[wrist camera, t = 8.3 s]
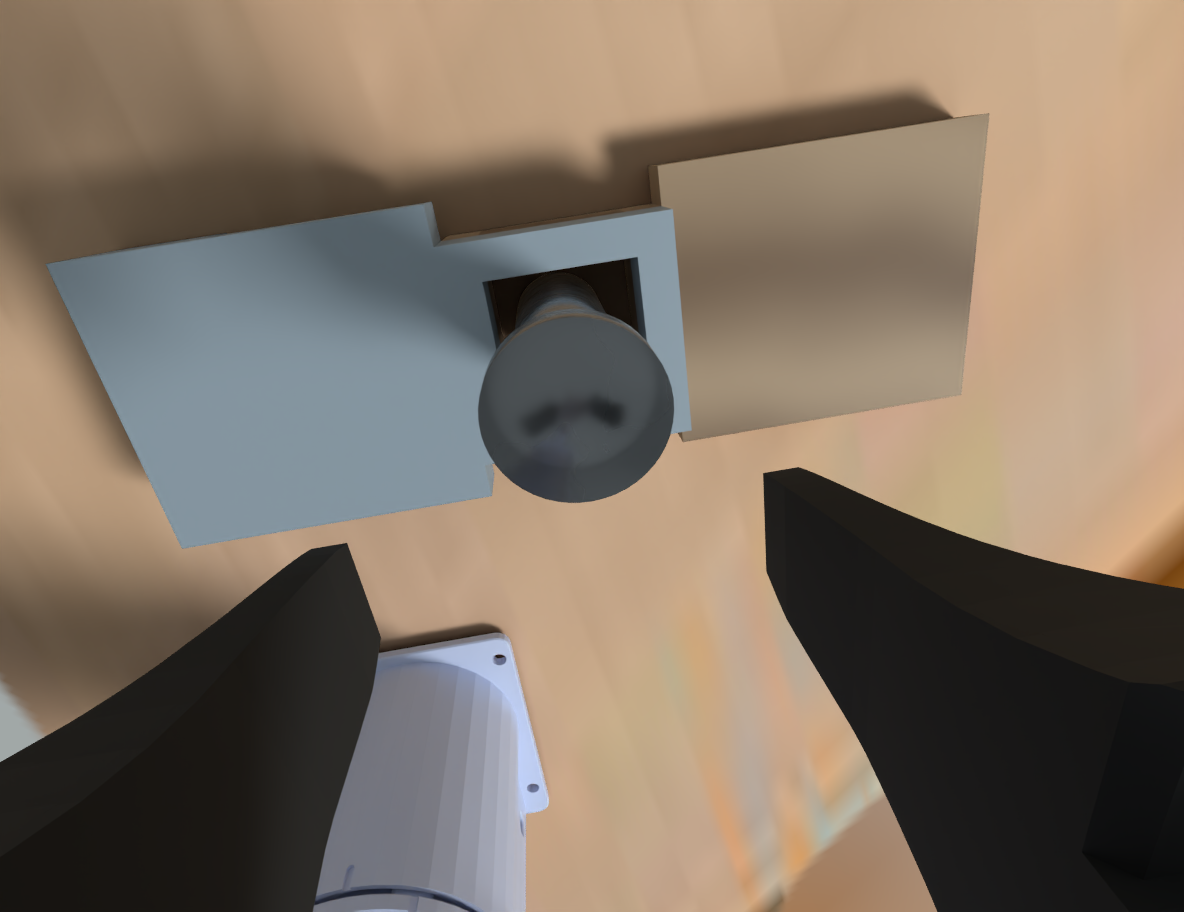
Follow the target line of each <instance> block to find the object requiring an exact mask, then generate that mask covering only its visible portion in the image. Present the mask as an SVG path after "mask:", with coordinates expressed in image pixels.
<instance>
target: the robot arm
mask: <svg viewBox="0 0 1184 912" xmlns="http://www.w3.org/2000/svg"><path fill="white" fill-rule="evenodd" d="M763 479H764V510H765V540H766V571H767V574H768V576H769V579H770V581H771V584H772V586H773V588H774V591H775V593H776V596H777V598H778V600H779V603H780V605H781V607H782V609H783V612H784V614H785V616H786V619H787V620H788V622H789V624H790V626H791V627H792V629H793V631H794V632H795V634H796V636H797V637H798V639H799V641H800V643H801V644H802V646H803V648H804V649H805V651H806V653H807V654H808V656H809V658H810V659H811V661H812V663H813V664H814V666H815V668H816V669H817V671H818V672H819V674H820V676H821V677H822V679H823V681H824V682H825V684H826V686H827V687H828V689H829V691H830V692H831V694H832V696H833V697H834V699H835V701H836V702H837V704H838V706H839V707H840V709H841V710H842V712H843V714H844V715H845V717H846V719H847V720H848V722H849V724H850V725H851V727H852V729H853V731H854V733H855V734H856V736H857V738H858V740H859V742H860V743H861V745H862V747H863V749H864V751H865V753H866V755H867V757H868V759H869V761H870V763H871V765H872V767H873V769H874V772H875V774H876V776H877V778H878V780H879V782H880V784H881V786H882V789H883V791H884V793H885V795H886V797H887V799H888V801H889V803H890V805H891V808H892V810H893V812H894V814H895V816H896V818H897V821H898V823H899V825H900V827H901V829H902V832H903V834H904V836H905V838H906V841H907V843H908V845H909V847H910V850H911V852H912V854H913V856H914V858H915V861H916V863H917V865H918V867H919V870H920V872H921V874H922V876H923V879H924V881H925V883H926V886H927V888H928V890H929V893H930V895H931V897H932V900H933V902H934V905H935V907H936V909H937V912H1184V589H1182V588H1175V587H1169V586H1163V585H1157V584H1152V583H1147V582H1141V581H1136V580H1131V579H1126V578H1120V577H1115V576H1111V575H1106V574H1102V573H1098V572H1093V571H1089V570H1084V569H1080V568H1076V567H1071V566H1067V565H1062V564H1058V563H1054V562H1050V561H1047V560H1043V559H1039V558H1035V557H1031V556H1028V555H1024V554H1021V553H1018V552H1014V551H1011V550H1008V549H1004V548H1001V547H998V546H994V545H991V544H988V543H984V542H981V541H978V540H975V539H972V538H969V537H966V536H963V535H960V534H957V533H955V532H952V531H949V530H947V529H944V528H941V527H939V526H936V525H934V524H931V523H928V522H926V521H923V520H920V519H918V518H915V517H913V516H910V515H908V514H906V513H903V512H901V511H898V510H896V509H894V508H891V507H889V506H887V505H884V504H882V503H880V502H878V501H875V500H873V499H871V498H869V497H866V496H864V495H862V494H860V493H857V492H855V491H853V490H851V489H849V488H846V487H844V486H842V485H840V484H838V483H836V482H833V481H831V480H829V479H827V478H824V477H822V476H820V475H817V474H815V473H813V472H810V471H808V470H805V469H802V468H799V467H797V468H791V469H785V470H779V471H773V472H768V473H763ZM380 639H381V636H380V634H379V631H378V628H377V625H376V623H375V620H374V617H373V614H372V611H371V609H370V606H369V603H368V600H367V598H366V595H365V592H364V589H363V586H362V584H361V581H360V578H359V575H358V572H357V570H356V567H355V564H354V561H353V559H352V556H351V553H350V550H349V547H348V545H347V543H344V544H338V545H332V546H326V547H321V548H315V549H311V550H309V551H307V552H306V553H304V554H303V555H301V556H300V557H298V558H297V559H295V560H294V561H293V562H291V563H290V564H289V565H287V566H286V567H285V568H283V569H282V570H281V571H280V572H278V573H277V574H276V575H274V576H273V577H272V578H271V579H269V580H268V581H267V582H266V583H264V584H263V585H262V586H261V587H259V588H258V589H257V590H256V591H254V592H253V593H252V594H251V595H249V596H248V597H247V598H246V599H244V600H243V601H242V602H241V603H239V604H238V605H237V606H236V607H234V608H233V609H232V610H231V611H229V612H228V613H227V614H226V615H224V616H223V617H222V618H221V619H219V620H218V621H217V622H215V623H214V624H213V625H211V626H210V627H209V628H207V629H206V630H205V631H203V632H202V633H201V634H199V635H198V636H197V637H195V638H194V639H193V640H191V641H190V642H189V643H187V644H186V645H185V646H183V647H182V648H181V649H179V650H178V651H177V652H175V653H174V654H172V655H171V656H170V657H168V658H167V659H166V660H164V661H163V662H162V663H160V664H159V665H158V666H156V667H155V668H153V669H152V670H150V671H149V672H148V673H146V674H145V675H143V676H142V677H140V678H139V679H137V680H136V681H134V682H133V683H131V684H130V685H128V686H127V687H126V688H124V689H122V690H121V691H119V692H118V693H116V694H115V695H113V696H112V697H110V698H108V699H107V700H105V701H104V702H102V703H101V704H99V705H97V706H96V707H94V708H93V709H91V710H90V711H88V712H86V713H85V714H83V715H82V716H80V717H78V718H77V719H75V720H73V721H72V722H70V723H68V724H67V725H65V726H63V727H61V728H60V729H58V730H56V731H54V732H53V733H51V734H49V735H47V736H45V737H44V738H42V739H40V740H38V741H37V742H35V743H33V744H31V745H30V746H28V747H26V748H25V749H23V750H21V751H19V752H17V753H16V754H14V755H12V756H10V757H9V758H7V759H5V760H3V761H1V762H0V912H526V814H528V813H533V812H539V811H542V810H544V809H545V808H547V806H548V804H549V796H548V791H547V787H546V783H545V779H544V775H543V771H542V767H541V763H540V759H539V755H538V751H537V747H536V743H535V739H534V735H533V731H532V727H531V723H530V719H529V714H528V710H527V706H526V702H525V698H524V694H523V690H522V686H521V682H520V678H519V674H518V670H517V666H516V662H515V658H514V654H513V650H512V646H511V642H510V639H509V638H508V637H507V636H506V635H505V634H502V633H490V634H485V635H479V636H473V637H467V638H462V639H456V640H450V641H445V642H439V643H433V644H427V645H422V646H416V647H410V648H405V649H399V650H393V651H388V652H382V653H379V647H380ZM497 654H502V655H504V656H505V657H503V658H497V657H495V655H497Z"/></svg>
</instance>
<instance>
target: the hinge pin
mask: <svg viewBox="0 0 1184 912" xmlns="http://www.w3.org/2000/svg"><path fill="white" fill-rule="evenodd" d="M673 418H674V397H673V392H672V387H671V384H670V381H669V378H668V375H667V373H666V371H665V369H664V367H663V365H662V363H661V362H660V360H659V359H658V357H657V355H656V354H655V352H654V351H653V350H652V348H651V347H650V345H649V344H648V342H647V341H646V340H645V339H644V338H643V337H642V336H641V335H640V334H639V333H638V332H637V331H636V330H634V329H633V328H632V327H631V326H629V325H628V324H626V323H625V322H623V321H621V320H620V319H617V318H615V317H613V316H611V315H609V314H606V313H605V311H604V309H603V307H602V305H601V303H600V301H599V299H598V297H597V295H596V293H595V291H594V290H593V289H592V287H591V286H590V285H589V284H588V283H587V282H585V281H584V280H583V279H581V278H580V277H578V276H575V275H573V274H570V273H564V272H554V273H548V274H545V275H543V276H540V277H538V278H537V279H535V280H534V281H533V282H531V283H530V284H529V285H528V286H527V287H526V289H525V290H524V292H523V293H522V295H521V297H520V300H519V303H518V307H517V315H516V324H515V330H514V331H513V332H511V333H510V334H509V335H508V336H507V337H506V338H505V339H504V340H503V342H502V343H501V344H500V345H499V347H498V348H497V349H496V351H495V353H494V354H493V356H492V358H491V360H490V361H489V364H488V366H487V369H486V371H485V375H484V379H483V383H482V387H481V392H480V396H479V404H478V422H479V428H480V433H481V436H482V439H483V442H484V445H485V447H486V449H487V451H488V454H489V456H490V457H491V459H492V460H493V462H494V463H495V465H496V466H497V467H498V468H499V469H500V471H501V472H502V473H503V474H504V475H505V476H506V477H507V478H509V479H510V480H511V481H512V482H513V483H515V484H516V485H518V486H519V487H521V488H522V489H524V490H526V491H528V492H530V493H532V494H534V495H536V496H539V497H542V498H545V499H549V500H553V501H558V502H568V503H581V502H589V501H595V500H599V499H603V498H606V497H609V496H612V495H615V494H617V493H619V492H621V491H623V490H625V489H627V488H628V487H630V486H631V485H633V484H634V483H636V482H637V481H638V480H639V479H641V478H642V477H643V476H644V475H645V474H646V473H647V472H648V471H649V470H650V469H651V468H652V467H653V466H654V464H655V463H656V461H657V460H658V459H659V457H660V456H661V454H662V452H663V450H664V448H665V447H666V444H667V442H668V439H669V436H670V434H671V429H672V425H673Z"/></svg>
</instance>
